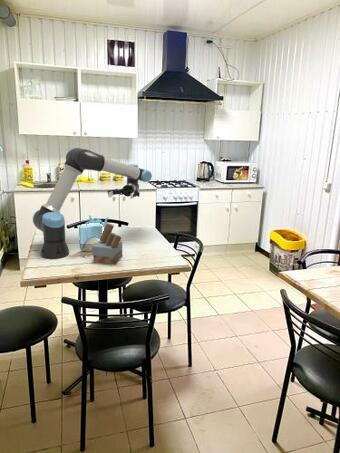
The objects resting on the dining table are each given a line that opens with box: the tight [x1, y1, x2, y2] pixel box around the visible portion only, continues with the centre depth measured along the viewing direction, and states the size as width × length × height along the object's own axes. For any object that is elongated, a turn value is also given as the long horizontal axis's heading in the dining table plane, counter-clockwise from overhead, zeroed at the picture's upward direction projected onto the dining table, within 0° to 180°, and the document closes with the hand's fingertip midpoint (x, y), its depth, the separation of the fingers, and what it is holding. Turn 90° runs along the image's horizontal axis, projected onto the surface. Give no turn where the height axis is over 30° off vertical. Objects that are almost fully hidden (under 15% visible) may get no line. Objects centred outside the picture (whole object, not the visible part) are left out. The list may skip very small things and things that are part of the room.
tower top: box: [91, 240, 123, 258], centre depth 190 cm, size 12×14×5 cm
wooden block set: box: [99, 222, 122, 248], centre depth 189 cm, size 18×9×10 cm, turn 23°
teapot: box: [84, 215, 109, 228], centre depth 239 cm, size 15×15×10 cm
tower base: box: [93, 249, 123, 266], centre depth 191 cm, size 12×14×5 cm
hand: (120, 195), depth 204 cm, fingers open, 13 cm apart
